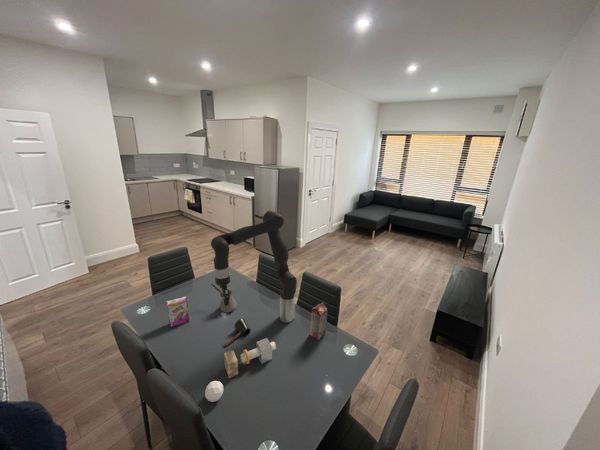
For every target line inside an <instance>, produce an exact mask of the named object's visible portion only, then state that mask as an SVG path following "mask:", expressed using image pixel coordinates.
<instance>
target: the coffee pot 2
mask: <svg viewBox="0 0 600 450" xmlns="http://www.w3.org/2000/svg"><path fill="white" fill-rule="evenodd" d="M233 328H234V329H235V330H236V331H237V332H238V333H236V335H235V336H234V337H232V338H230V339H229V340H228V341H227V342H223V344H224V345H223V346H224V347H228V346H229V345H231V344H232V343H233V342H234V341H235V339H236V338H238V337H240V335H241V334H243V336H244V337H246V336H247V335H249V334H250V333H251V330H252V329H251V328H249V326H248V324H247V321H246V319H245V318H244V317H243V318H239V319H238V320H237V321H236V322H235V323H234V325H233Z"/></svg>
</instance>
